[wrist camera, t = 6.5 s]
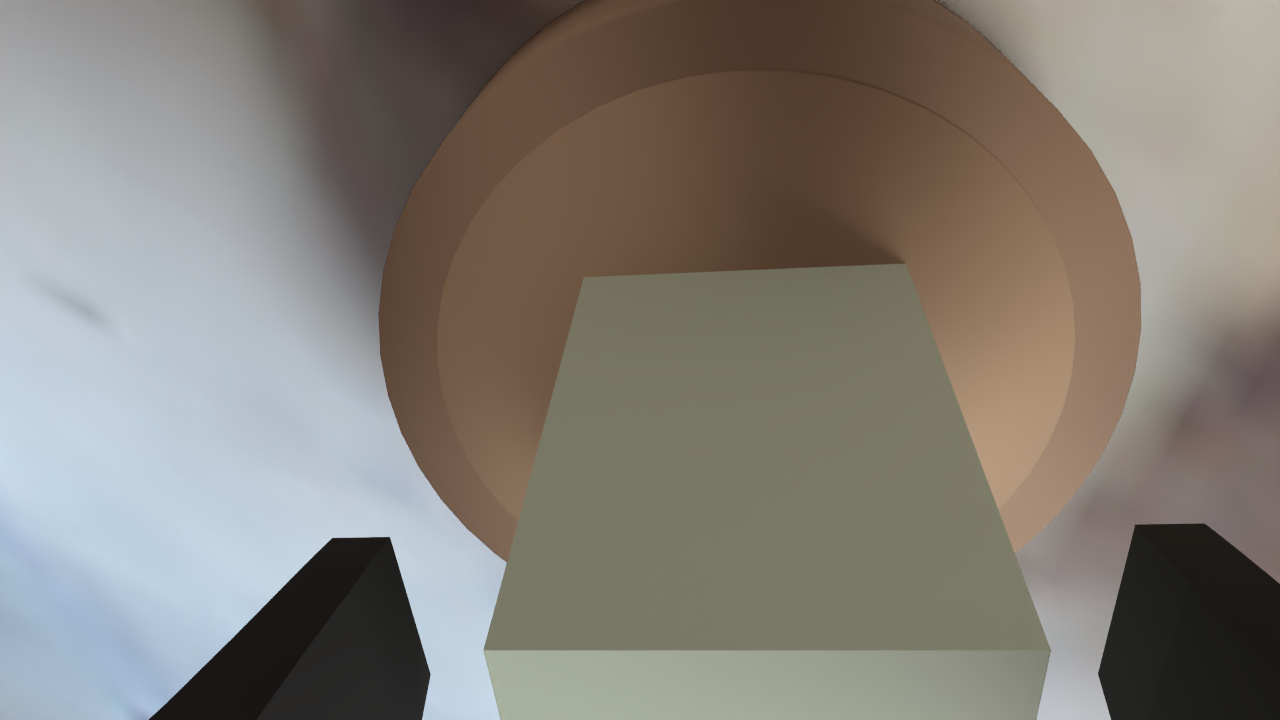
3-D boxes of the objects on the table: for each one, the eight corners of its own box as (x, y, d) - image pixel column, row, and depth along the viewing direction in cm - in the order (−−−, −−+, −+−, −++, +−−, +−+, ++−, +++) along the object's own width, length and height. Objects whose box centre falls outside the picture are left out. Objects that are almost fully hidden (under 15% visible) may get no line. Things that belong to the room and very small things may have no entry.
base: (486, 538, 18) (454, 643, 16) (360, -16, 13) (286, 28, 11) (1029, 531, 17) (1075, 642, 15) (1136, -77, 12) (1230, -41, 10)
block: (614, 515, 14) (555, 937, 9) (583, 277, 12) (484, 650, 7) (887, 512, 14) (988, 951, 9) (905, 263, 12) (1051, 650, 6)
